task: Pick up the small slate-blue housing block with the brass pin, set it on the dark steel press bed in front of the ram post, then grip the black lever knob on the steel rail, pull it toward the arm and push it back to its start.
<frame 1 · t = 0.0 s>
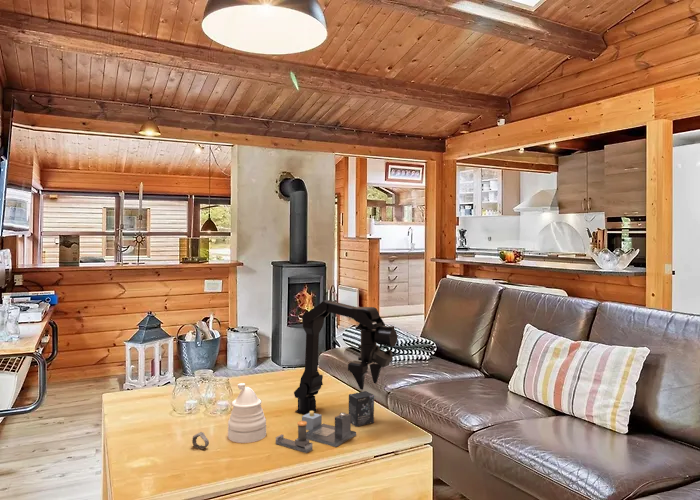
hand: (368, 386, 184), 15 cm above the table, tool pointing down, fingers open, 9 cm apart
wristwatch: (200, 448, 166), on the table
press bed: (329, 436, 175), on the table
box: (361, 423, 188), on the table
lever rail: (293, 446, 167), on the table
housing: (311, 428, 184), on the table
lever: (302, 433, 165), point 5 cm above the table, slide at 0.0 cm
honey pot: (247, 436, 176), on the table
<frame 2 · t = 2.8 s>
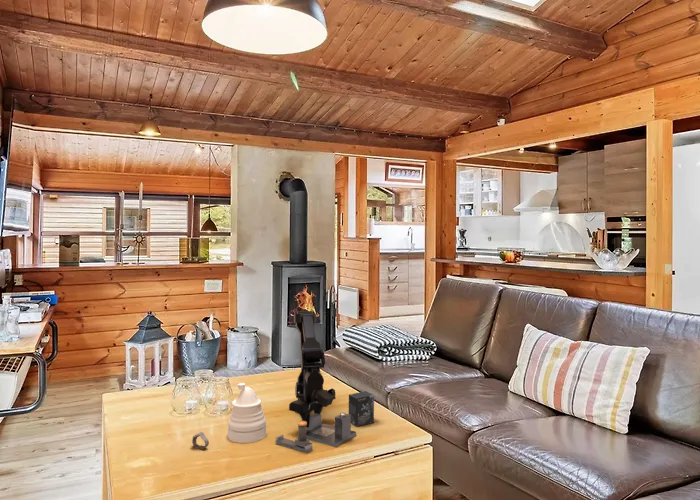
hand: (311, 424, 183), 1 cm above the table, tool pointing down, fingers closed on housing, 5 cm apart
housing: (311, 427, 184), on the table, touching gripper
everything else where it was.
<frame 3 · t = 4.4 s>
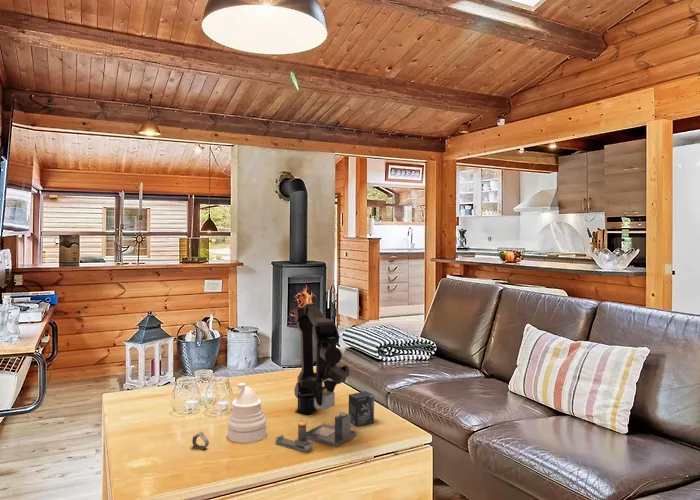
hand: (324, 403, 176), 11 cm above the table, tool pointing down, fingers closed on housing, 5 cm apart
housing: (324, 406, 176), point 10 cm above the table, touching gripper
everything else where it was.
when the fingers open (4 cm above the table, at t = 6.0 s): housing drops 2 cm, resting on press bed.
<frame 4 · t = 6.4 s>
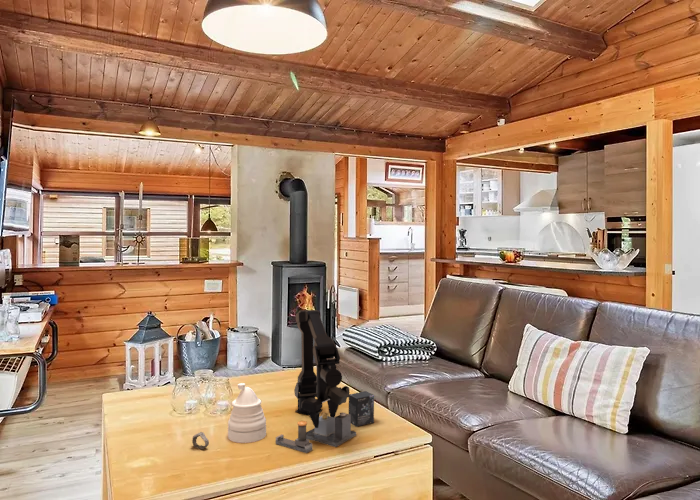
hand: (324, 423, 176), 4 cm above the table, tool pointing down, fingers open, 9 cm apart
housing: (324, 431, 177), point 1 cm above the table, touching press bed
everything else where it was.
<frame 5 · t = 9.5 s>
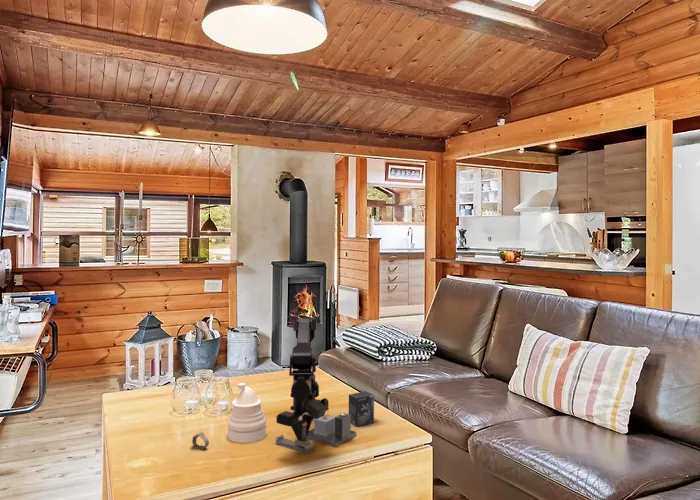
hand: (302, 438, 165), 4 cm above the table, tool pointing down, fingers closed on lever, 3 cm apart
lever: (302, 433, 165), point 5 cm above the table, slide at 0.0 cm, touching gripper
everything else where it was.
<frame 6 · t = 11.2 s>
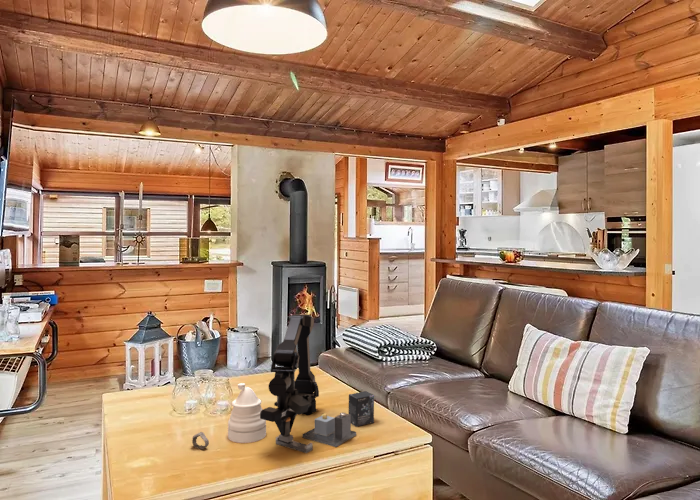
hand: (285, 433, 169), 4 cm above the table, tool pointing down, fingers closed on lever, 3 cm apart
lever: (285, 429, 168), point 5 cm above the table, slide at 6.9 cm, touching gripper
everything else where it was.
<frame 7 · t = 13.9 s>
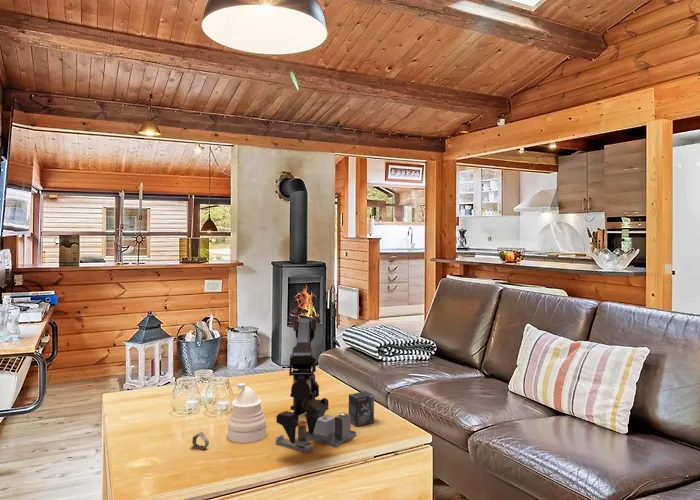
hand: (302, 438, 165), 4 cm above the table, tool pointing down, fingers open, 9 cm apart
lever: (302, 433, 165), point 5 cm above the table, slide at 0.1 cm
everything else where it was.
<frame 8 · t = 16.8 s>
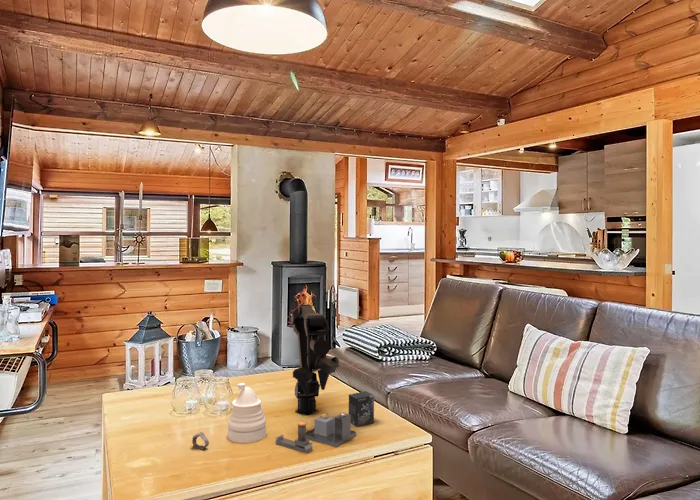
hand: (315, 392, 185), 12 cm above the table, tool pointing down, fingers open, 9 cm apart
nothing on the table moved.
at the end: housing inside the target area on the press bed (0.2 cm from its centre), point 1.3 cm above the press bed's base; housing tilted 0°; lever slide at 0.1 cm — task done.
